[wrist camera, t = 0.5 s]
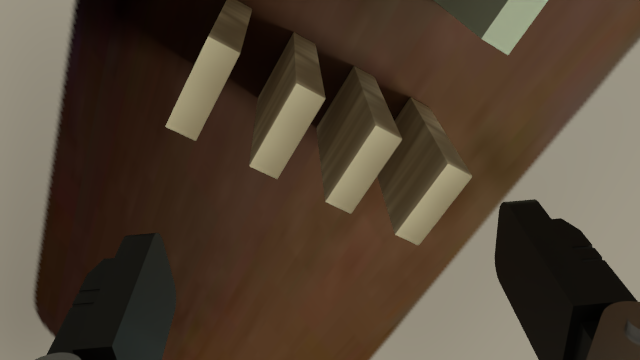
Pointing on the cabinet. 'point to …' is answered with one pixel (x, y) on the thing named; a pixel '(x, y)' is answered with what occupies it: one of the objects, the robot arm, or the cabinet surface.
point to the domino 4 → (420, 173)
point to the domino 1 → (211, 70)
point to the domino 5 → (495, 18)
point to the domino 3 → (355, 140)
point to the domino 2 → (286, 106)
